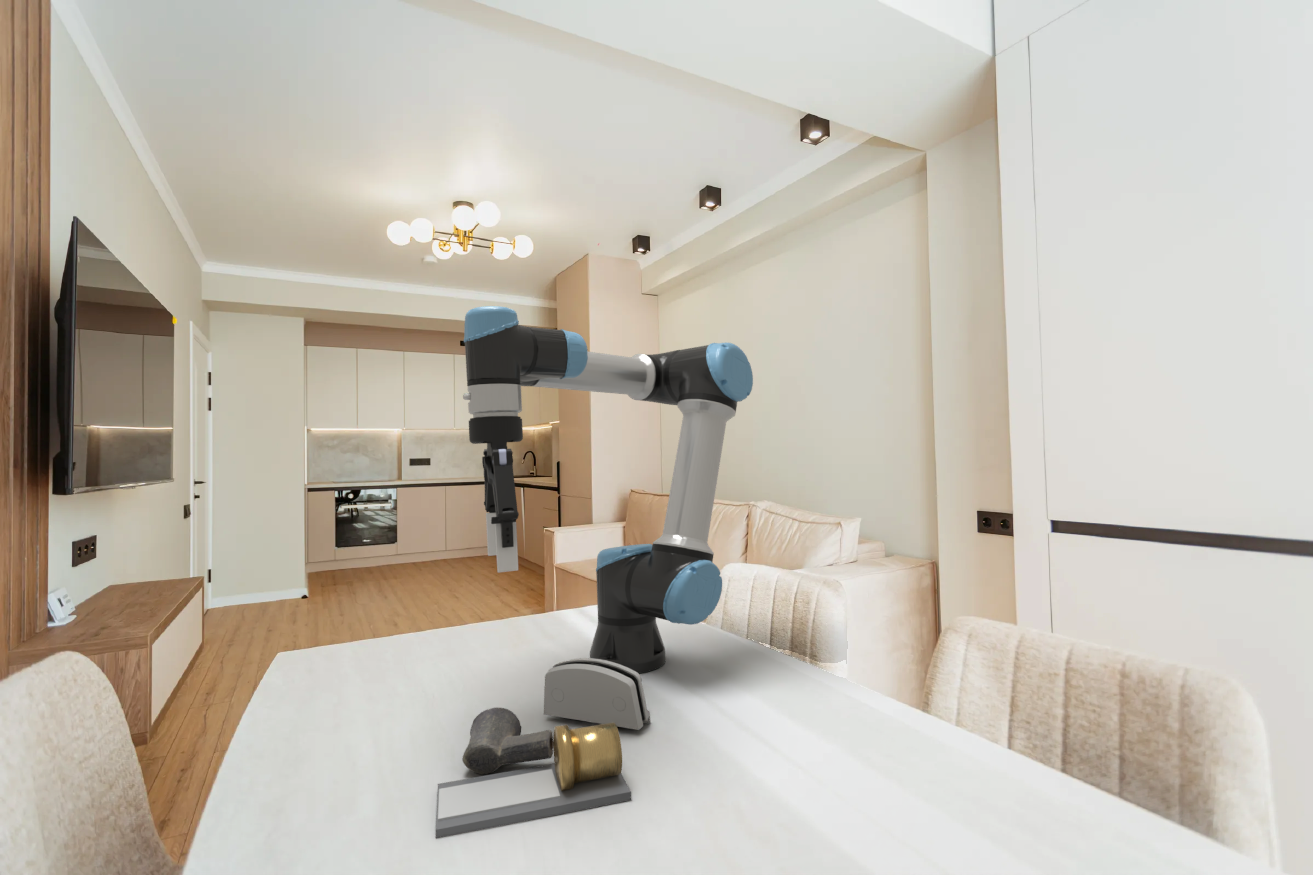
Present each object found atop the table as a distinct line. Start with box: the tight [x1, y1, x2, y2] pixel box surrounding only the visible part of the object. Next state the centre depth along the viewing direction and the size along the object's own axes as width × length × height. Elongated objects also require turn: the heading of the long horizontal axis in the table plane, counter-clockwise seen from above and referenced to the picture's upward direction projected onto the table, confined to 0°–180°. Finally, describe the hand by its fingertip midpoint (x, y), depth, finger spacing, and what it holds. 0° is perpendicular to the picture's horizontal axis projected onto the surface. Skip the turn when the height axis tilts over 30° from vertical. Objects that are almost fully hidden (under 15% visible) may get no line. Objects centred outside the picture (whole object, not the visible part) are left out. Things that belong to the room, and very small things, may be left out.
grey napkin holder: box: [543, 657, 652, 731], centre depth 96 cm, size 17×5×10 cm, turn 68°
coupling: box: [553, 723, 623, 791], centre depth 78 cm, size 7×7×7 cm
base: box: [435, 763, 632, 839], centre depth 76 cm, size 22×10×1 cm, turn 108°
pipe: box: [462, 707, 554, 775], centre depth 84 cm, size 6×13×8 cm
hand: (502, 562), depth 91 cm, fingers open, 13 cm apart
